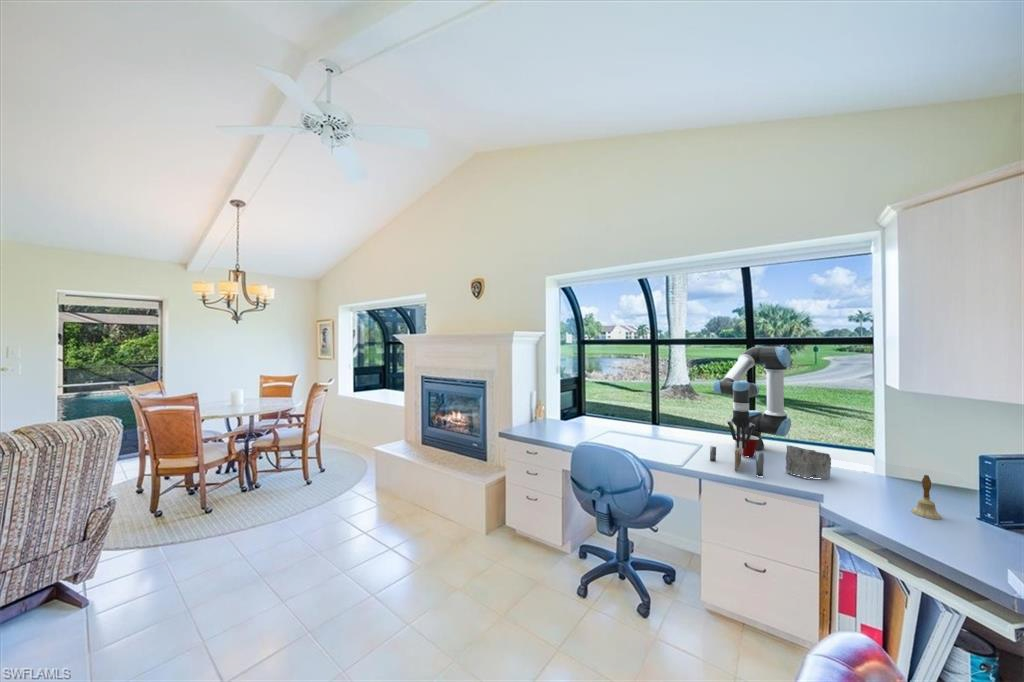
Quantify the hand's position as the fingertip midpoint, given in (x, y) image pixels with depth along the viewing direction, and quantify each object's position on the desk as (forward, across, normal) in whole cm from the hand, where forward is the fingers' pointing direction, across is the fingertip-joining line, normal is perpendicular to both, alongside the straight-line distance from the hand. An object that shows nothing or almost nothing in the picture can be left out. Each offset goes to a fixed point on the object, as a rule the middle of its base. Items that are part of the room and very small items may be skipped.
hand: (741, 453), depth 206 cm
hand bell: (+9, +67, -10) cm, 68 cm away
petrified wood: (+9, +28, +13) cm, 32 cm away
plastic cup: (+8, -1, +27) cm, 28 cm away
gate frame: (+8, -3, -1) cm, 8 cm away
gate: (+7, -2, +1) cm, 7 cm away
